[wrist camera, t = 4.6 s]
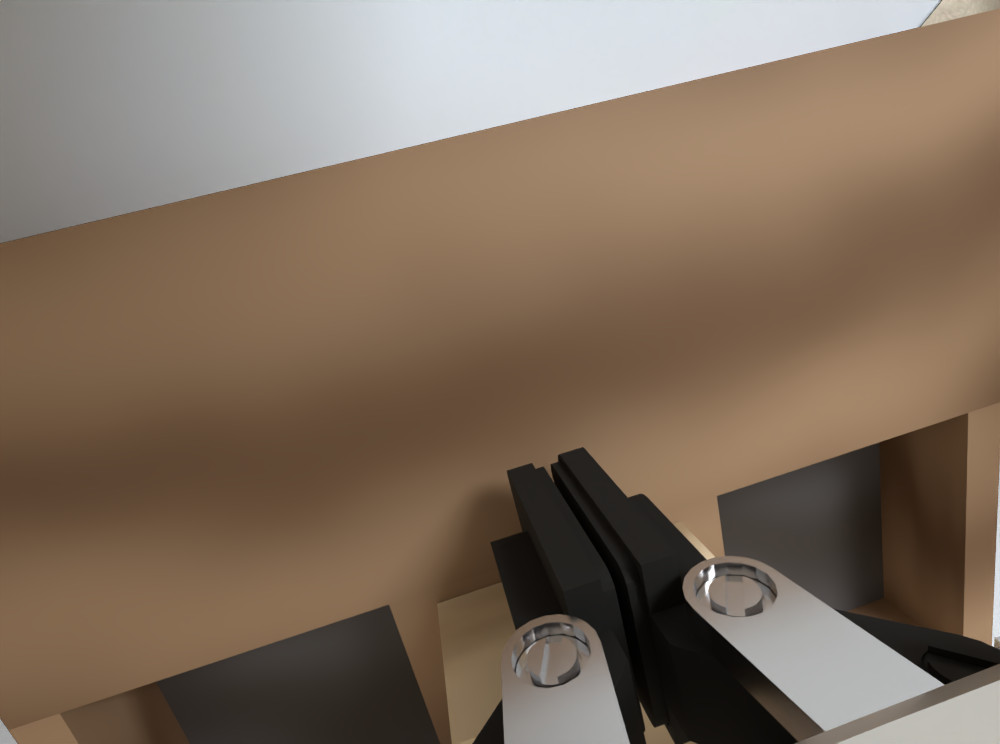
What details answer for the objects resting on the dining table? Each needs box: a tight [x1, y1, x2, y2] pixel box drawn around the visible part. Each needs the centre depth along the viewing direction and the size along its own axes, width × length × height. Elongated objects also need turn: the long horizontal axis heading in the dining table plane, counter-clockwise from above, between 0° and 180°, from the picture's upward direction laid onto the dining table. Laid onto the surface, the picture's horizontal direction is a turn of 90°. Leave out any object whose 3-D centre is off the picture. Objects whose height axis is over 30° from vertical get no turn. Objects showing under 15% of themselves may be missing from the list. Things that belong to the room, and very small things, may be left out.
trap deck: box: [0, 8, 1000, 744], centre depth 14 cm, size 25×24×5 cm
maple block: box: [437, 522, 715, 744], centre depth 12 cm, size 6×6×4 cm
